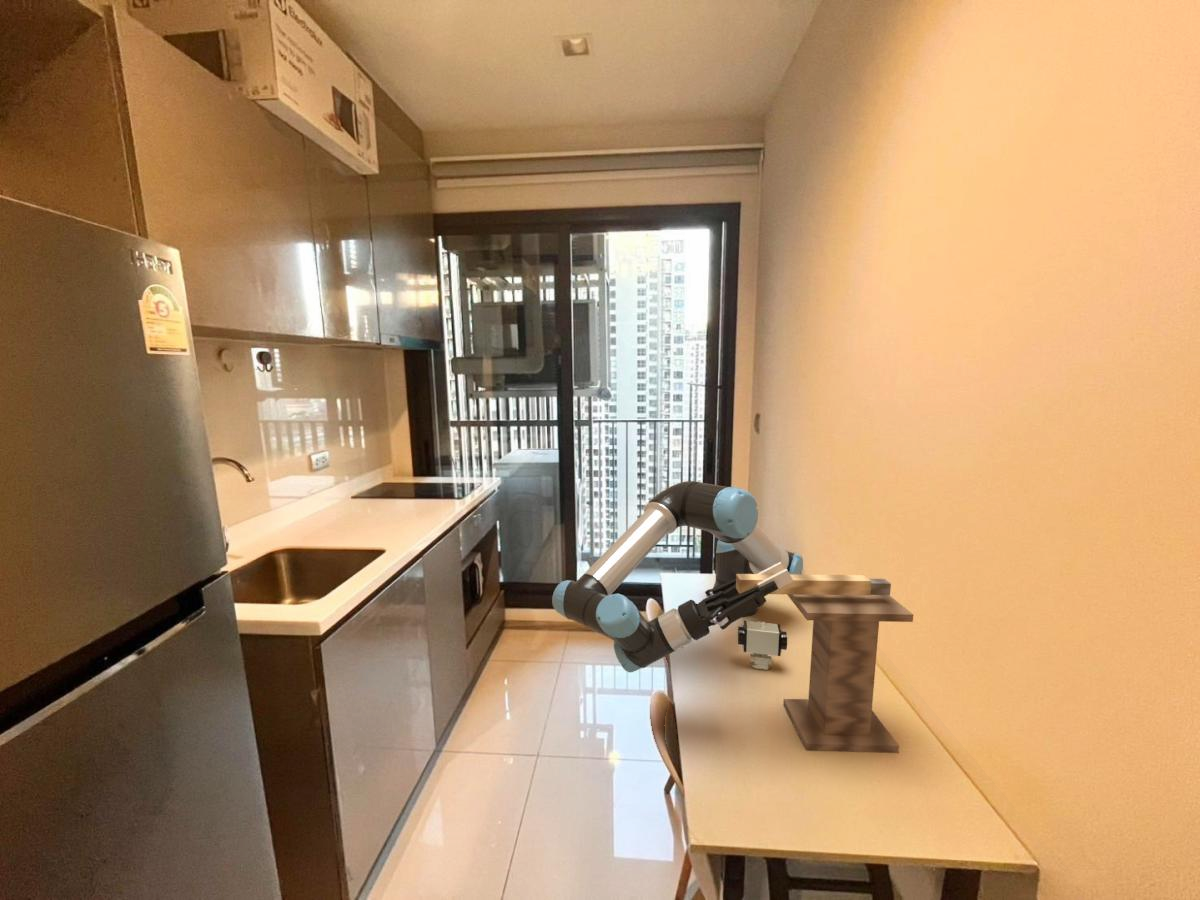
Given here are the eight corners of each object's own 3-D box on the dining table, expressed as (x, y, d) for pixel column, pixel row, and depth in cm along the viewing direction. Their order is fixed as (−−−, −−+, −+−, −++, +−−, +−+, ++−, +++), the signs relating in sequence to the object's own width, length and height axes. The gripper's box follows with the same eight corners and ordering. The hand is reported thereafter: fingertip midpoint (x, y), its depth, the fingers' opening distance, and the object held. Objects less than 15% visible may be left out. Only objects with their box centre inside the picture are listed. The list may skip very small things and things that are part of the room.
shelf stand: (801, 750, 100) (809, 615, 96) (778, 704, 114) (785, 585, 110) (903, 752, 99) (916, 617, 95) (868, 706, 113) (878, 586, 109)
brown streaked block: (739, 593, 101) (739, 579, 101) (735, 587, 104) (736, 573, 104) (890, 595, 100) (892, 581, 100) (883, 589, 103) (884, 575, 103)
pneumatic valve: (785, 674, 125) (788, 629, 124) (737, 668, 128) (738, 624, 126) (783, 662, 131) (785, 619, 129) (736, 656, 133) (738, 614, 132)
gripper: (688, 620, 113) (782, 571, 110) (699, 660, 97) (810, 604, 94) (672, 592, 112) (766, 542, 109) (680, 628, 96) (791, 571, 94)
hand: (786, 571), depth 102 cm, fingers closed on brown streaked block, 3 cm apart
